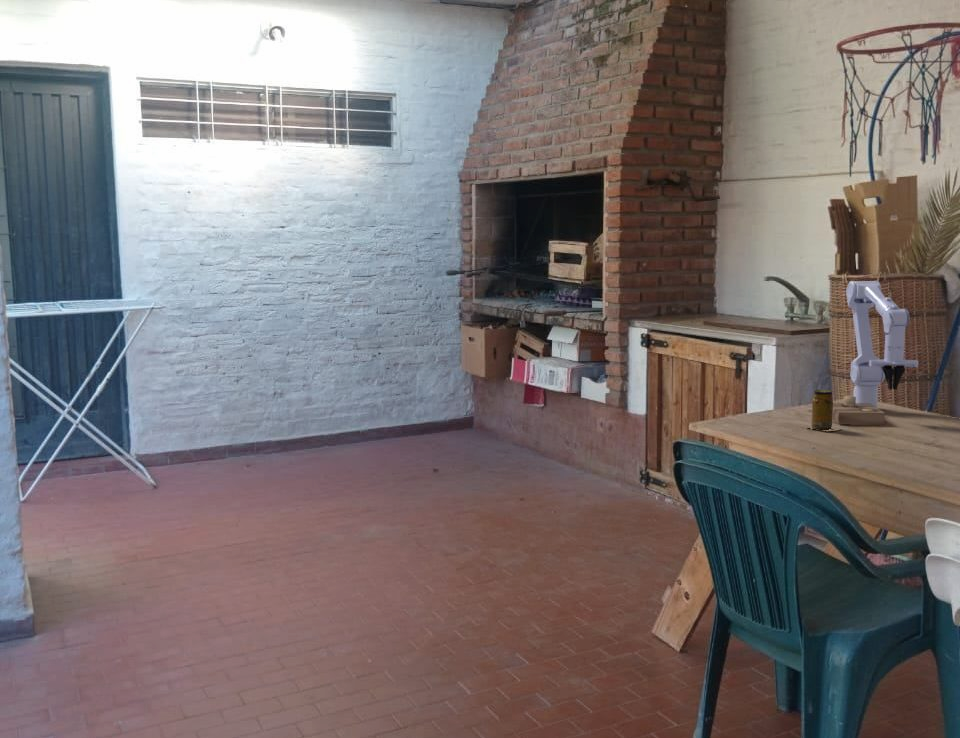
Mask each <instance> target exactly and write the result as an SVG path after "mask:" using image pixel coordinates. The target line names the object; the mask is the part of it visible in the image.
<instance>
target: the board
mask: <svg viewBox="0 0 960 738" xmlns="http://www.w3.org/2000/svg"><path fill="white" fill-rule="evenodd" d="M885 413H886V412H884V411H883V410H882V409H880V408H878V406H877V407H875V406H874V405H872V404H871V403H856V405H855V407H844V402H833V414H832V419H833V420H835V421H836V422H837V423H838V424H851V425H850V426H885V415H886V414H885ZM833 420H832V421H833ZM836 422H835V423H836ZM837 423H836V424H837ZM838 424H837V425H838Z"/></svg>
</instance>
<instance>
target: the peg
mask: <svg viewBox="0 0 960 738" xmlns="http://www.w3.org/2000/svg"><path fill="white" fill-rule="evenodd" d="M843 403H844V407H855V405H856V397H854V396H853V395H845V396H843Z"/></svg>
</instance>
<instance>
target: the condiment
mask: <svg viewBox="0 0 960 738" xmlns="http://www.w3.org/2000/svg"><path fill="white" fill-rule="evenodd" d="M813 395H814V396H813V399H812V402H811V403H812V406H811V407H812V409H811V427H812V428H813V429H819V430H818V431H821V430H829V429H832V428H833V420H832V414H833V403H834V400H833V392H832V391H831V390H827V389H817V390H816V389H815V390H814V393H813ZM831 427H832V428H831ZM832 430H833V429H832ZM821 432H822V431H821ZM826 432H827V433H829V432H828V431H826ZM826 432H825V433H826Z"/></svg>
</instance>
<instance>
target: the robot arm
mask: <svg viewBox="0 0 960 738" xmlns="http://www.w3.org/2000/svg"><path fill="white" fill-rule="evenodd" d="M845 294H846V300H847V306H848V308H850V309H851V311H852V316H853V317H852V318H853V320H852V321H853V325H854V334H855V343H856V349H857V350H856V351H857V357H855V358H854V359H853V360H852V361H851V363H850V373H849V374H850V380H851V381H852V383H853V384H855V386H854V388H853V394H852V396H854V397H856V403H871V404H872V405H874V406H875V407H877V408H878V405H879V404H878V401H879V386H881V384H882V383H883V381H884V380H886V384H887V389H888V390H890V391H891V390H896V391H898V387H899V383H900V380H901V378H902V376H903V375H904V373H905V371H906V368H907V367H908V368H918V367H919V360H916V359H915V360H912V359H904V358H905V357H904V356H905V342H906V341H905V339H906V338H905V337H906V328H907V327H908V325H909V324H910V320H911V319H910V318H911V317H910V313H909V311H908V309H907V308H900V307H899V305H897V304H896V303H895V302H894V300H892V298H891V297H886V296H885V295H884V294H883V292H882V284H881V283H880V282H879V281H878V280H869V281H867V280H863V281H861V280H859V281H857V280H855V281H854V280H851V281H849V283H848V284H847V287H846V291H845ZM872 307H875V310H876V312H877V313H878V314H879V316H881V318H882V323H883V332H884V333H885V336H884V337H885V338H884V339H885V341H884V357H883V359H881V358H879V357H877V355H875V354H874V346H873V340H872V332H871V331H872V330H871V323H870V316H869V310H870V309H871V308H872ZM905 367H906V368H905Z"/></svg>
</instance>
